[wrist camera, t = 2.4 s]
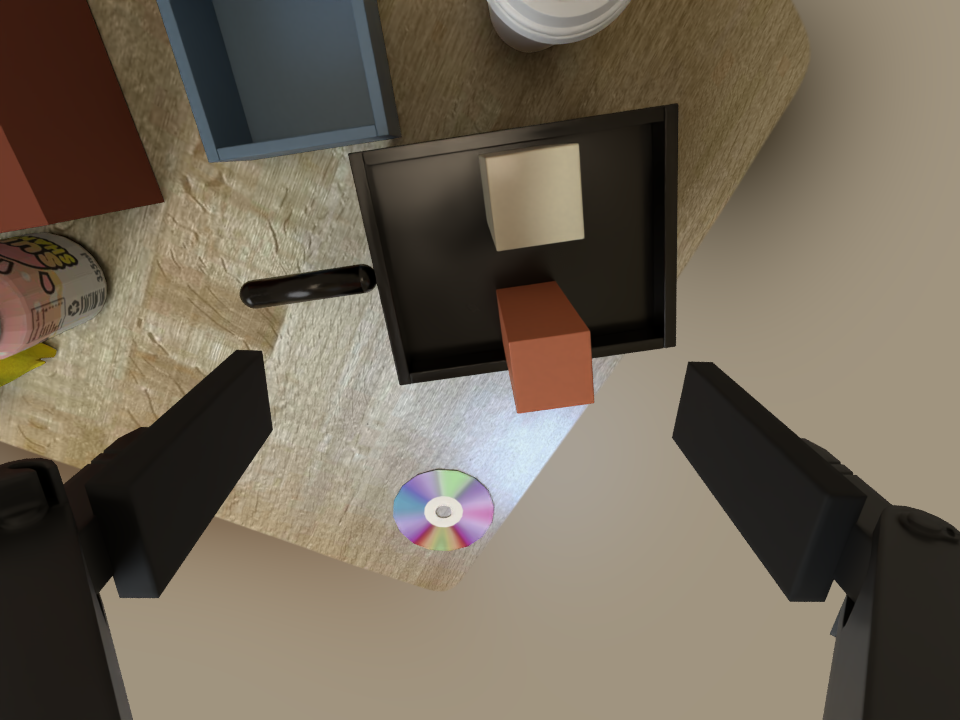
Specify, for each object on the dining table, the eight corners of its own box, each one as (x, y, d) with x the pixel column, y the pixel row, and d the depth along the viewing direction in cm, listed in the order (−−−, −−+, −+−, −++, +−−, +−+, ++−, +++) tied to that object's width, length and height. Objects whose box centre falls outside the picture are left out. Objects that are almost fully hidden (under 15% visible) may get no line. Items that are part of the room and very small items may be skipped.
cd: (512, 524, 57) (512, 524, 57) (460, 452, 53) (460, 452, 53) (428, 565, 59) (428, 564, 59) (372, 498, 55) (372, 498, 55)
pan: (608, 117, 41) (679, 102, 28) (615, 290, 47) (676, 347, 34) (279, 167, 42) (192, 177, 29) (324, 332, 48) (269, 404, 34)
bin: (367, -52, 37) (344, -99, 30) (401, 137, 42) (389, 134, 35) (197, -24, 37) (135, -64, 30) (251, 160, 42) (208, 162, 35)
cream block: (544, 144, 30) (579, 142, 21) (549, 212, 32) (584, 238, 23) (478, 154, 31) (484, 157, 21) (487, 222, 32) (496, 251, 23)
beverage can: (-4, 296, 45) (-155, 344, 34) (5, 207, 42) (-157, 228, 31) (104, 335, 47) (-6, 393, 36) (120, 252, 44) (5, 287, 33)
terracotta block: (555, 280, 34) (590, 330, 24) (560, 336, 35) (594, 403, 26) (495, 289, 34) (508, 342, 25) (503, 344, 35) (517, 414, 26)
